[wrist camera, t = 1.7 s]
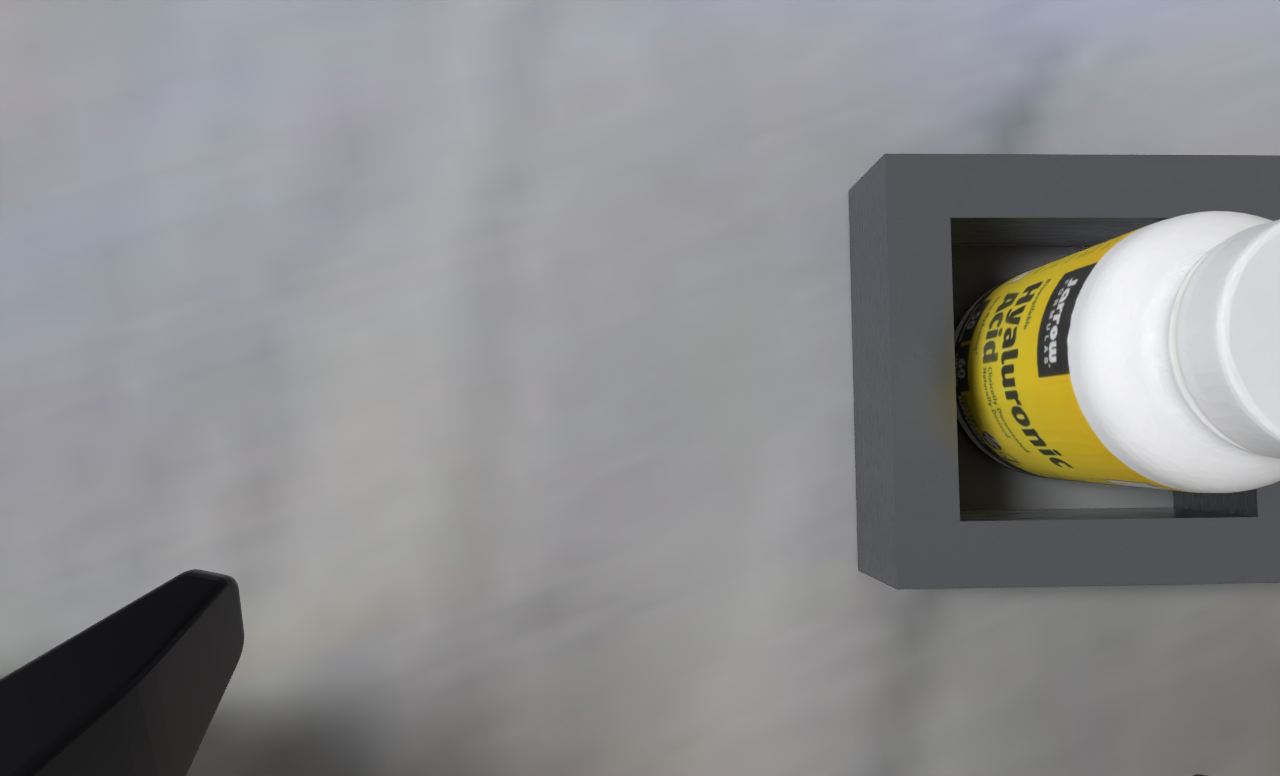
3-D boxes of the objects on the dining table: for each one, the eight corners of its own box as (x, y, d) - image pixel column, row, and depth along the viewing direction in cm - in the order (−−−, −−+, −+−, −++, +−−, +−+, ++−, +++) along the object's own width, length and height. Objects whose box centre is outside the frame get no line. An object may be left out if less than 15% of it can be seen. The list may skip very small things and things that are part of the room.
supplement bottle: (925, 287, 24) (1156, 176, 14) (1122, 265, 24) (1485, 142, 14) (953, 490, 23) (1209, 524, 13) (1152, 466, 24) (1544, 482, 14)
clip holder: (1231, 563, 23) (1324, 581, 20) (858, 570, 23) (896, 589, 20) (1212, 191, 24) (1300, 155, 21) (848, 190, 24) (884, 153, 21)
